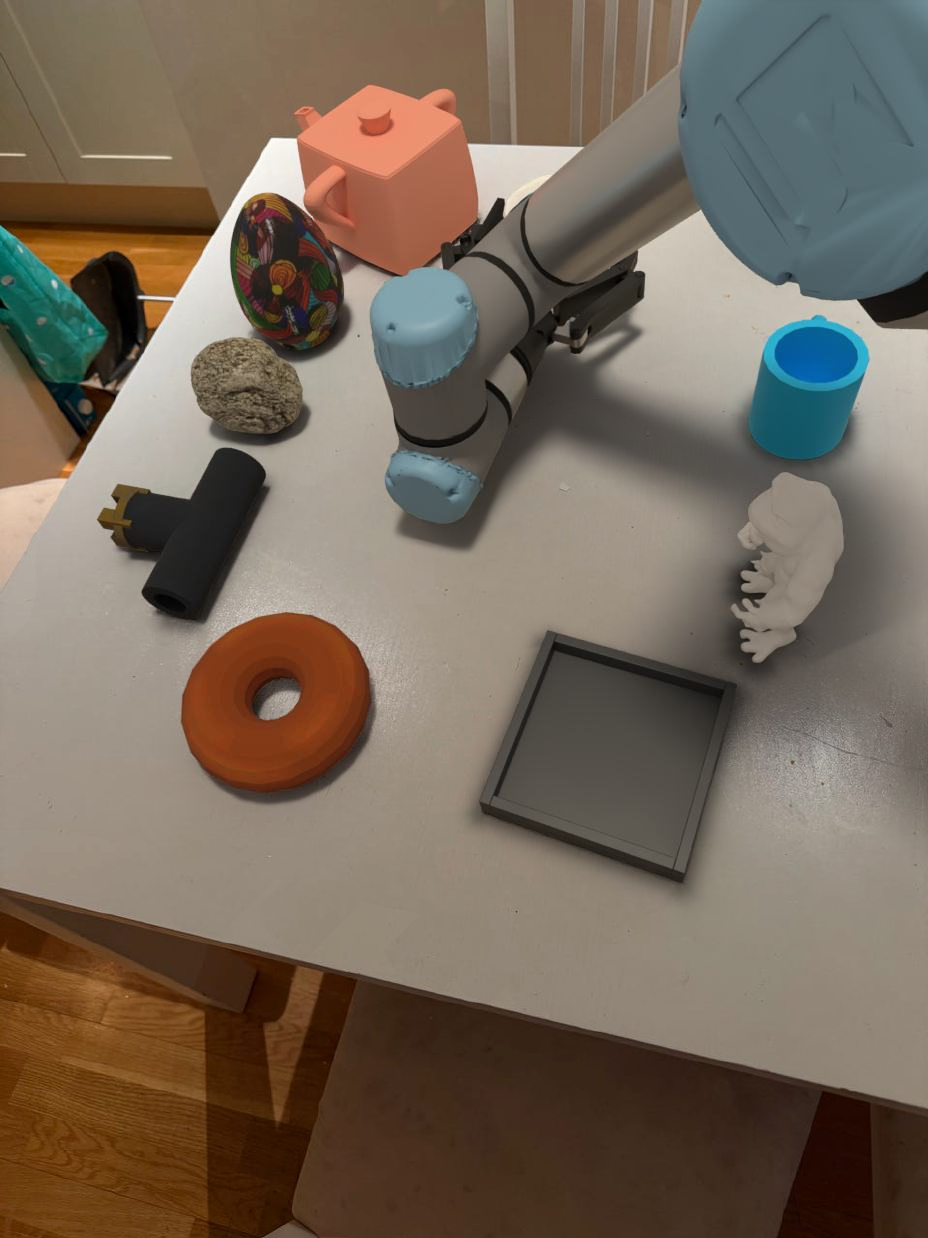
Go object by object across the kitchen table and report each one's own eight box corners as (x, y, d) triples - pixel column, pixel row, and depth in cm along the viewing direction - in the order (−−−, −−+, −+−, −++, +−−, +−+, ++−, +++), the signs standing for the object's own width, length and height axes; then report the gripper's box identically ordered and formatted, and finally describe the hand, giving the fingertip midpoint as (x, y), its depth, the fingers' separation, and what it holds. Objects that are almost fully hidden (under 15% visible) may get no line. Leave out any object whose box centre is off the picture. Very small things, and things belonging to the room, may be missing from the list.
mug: (840, 466, 76) (865, 397, 69) (741, 452, 78) (756, 384, 71) (852, 366, 81) (877, 293, 74) (760, 355, 83) (776, 283, 76)
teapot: (513, 198, 100) (502, 71, 88) (379, 311, 93) (347, 189, 81) (387, 146, 108) (362, 23, 96) (256, 246, 101) (211, 127, 89)
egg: (236, 352, 93) (179, 225, 80) (288, 286, 97) (242, 155, 84) (323, 375, 89) (278, 246, 76) (372, 305, 94) (337, 173, 81)
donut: (161, 770, 69) (133, 745, 65) (247, 613, 76) (226, 581, 71) (331, 828, 65) (312, 805, 61) (406, 656, 71) (394, 625, 67)
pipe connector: (62, 567, 74) (141, 432, 81) (92, 600, 78) (164, 470, 85) (185, 592, 71) (256, 450, 78) (208, 624, 76) (273, 488, 83)
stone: (297, 452, 84) (264, 374, 76) (206, 441, 87) (163, 364, 78) (319, 404, 87) (289, 323, 79) (230, 394, 89) (191, 315, 81)
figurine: (812, 680, 66) (866, 569, 53) (720, 672, 67) (751, 561, 55) (809, 561, 71) (857, 433, 59) (724, 555, 73) (752, 429, 60)
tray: (733, 697, 66) (738, 683, 64) (681, 882, 60) (684, 873, 58) (548, 644, 70) (547, 629, 68) (482, 812, 64) (478, 801, 62)
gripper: (373, 374, 85) (455, 234, 94) (625, 426, 78) (688, 269, 87) (355, 312, 79) (445, 168, 88) (628, 362, 72) (696, 200, 81)
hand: (566, 218), depth 88 cm, fingers open, 13 cm apart
